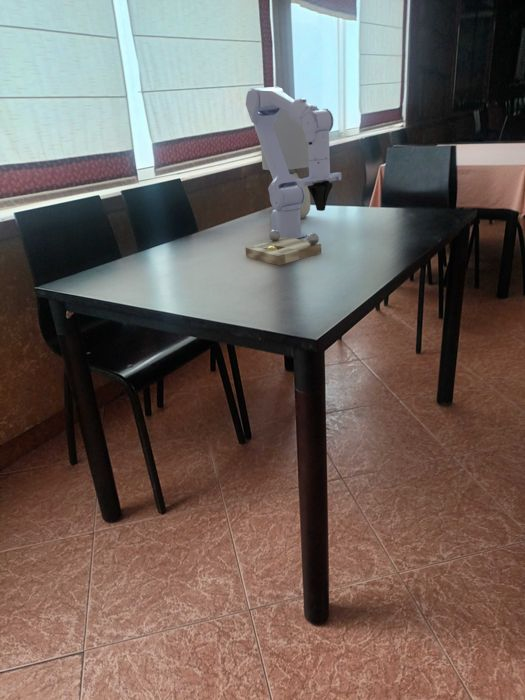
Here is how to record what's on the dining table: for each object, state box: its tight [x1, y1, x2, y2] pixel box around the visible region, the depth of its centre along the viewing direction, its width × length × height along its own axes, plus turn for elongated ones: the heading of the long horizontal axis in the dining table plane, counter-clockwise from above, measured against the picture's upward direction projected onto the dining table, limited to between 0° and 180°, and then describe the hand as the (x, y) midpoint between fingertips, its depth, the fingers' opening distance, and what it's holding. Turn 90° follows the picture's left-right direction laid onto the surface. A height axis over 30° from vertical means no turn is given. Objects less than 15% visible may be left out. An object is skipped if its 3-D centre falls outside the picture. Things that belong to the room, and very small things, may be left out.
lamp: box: [260, 110, 311, 219], centre depth 176 cm, size 20×20×37 cm
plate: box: [244, 237, 322, 266], centre depth 137 cm, size 15×15×2 cm
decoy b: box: [306, 232, 320, 245], centre depth 134 cm, size 3×3×3 cm
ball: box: [267, 246, 277, 251], centre depth 135 cm, size 3×3×3 cm
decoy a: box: [268, 229, 280, 241], centre depth 142 cm, size 3×3×3 cm
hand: (320, 210), depth 139 cm, fingers closed
